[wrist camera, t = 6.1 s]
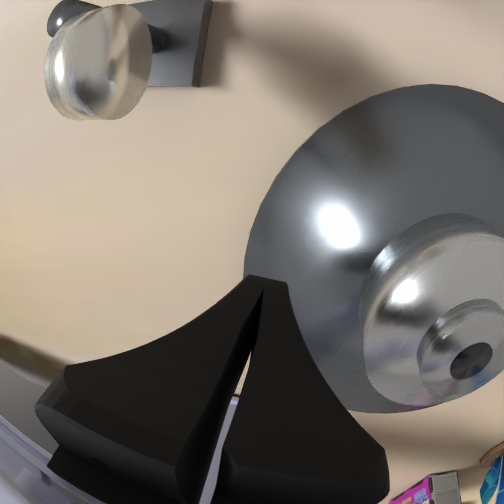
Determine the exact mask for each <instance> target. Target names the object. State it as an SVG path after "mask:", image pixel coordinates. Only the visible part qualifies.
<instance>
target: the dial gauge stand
mask: <svg viewBox="0 0 504 504" xmlns="http://www.w3.org/2000/svg"><path fill="white" fill-rule="evenodd" d="M212 2H213V1H212V0H153V1H146V2H141V3H135V4H130V5H126V4H115V5H111V6H107V7H100V6H97V5H94V4H90V3H87V2H83V1H80V0H63V1H61V2H60V3H59V4H58V5H57V6H56V7H55V8H54V9H53V11H52V12H51V14H50V16H49V19H48V23H47V32H48V34H49V36H51V37H53V39H52V41H51V43H50V46H49V48H48V51H47V55H46V59H45V67H44V79H45V86H46V90H47V93H48V96H49V98H50V101H51V103H52V104H53V106H54V107H55V108H56V110H57V111H58V112H59V113H60V114H62V115H63V116H65V117H66V118H69V119H72V120H115V119H119V118H122V117H124V116H125V115H127V114H128V113H129V112H131V111H132V110H133V109H134V107H135V106H136V105H137V103H138V102H139V100H140V99H141V97H142V95H143V93H144V91H145V88H146V87H159V86H164V87H199V82H200V74H201V67H202V61H203V54H204V47H205V41H206V35H207V29H208V24H209V18H210V13H211V7H212Z"/></svg>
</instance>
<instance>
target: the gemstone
mask: <svg viewBox="0 0 504 504" xmlns="http://www.w3.org/2000/svg"><path fill="white" fill-rule="evenodd" d="M479 463H480V467H482V468H489V467H491V468H490V470H489V471H488V473H487V474H486V476H485V479H484V482H483V485H482V487H481V488H480V496H481V501H482V504H487V503H488V502H489V501H490V499H491V498H492V496H493V494H494V492H495V490H496V488H497V486H498V491H497V497H496V502H495V504H504V441H503V442H502V443H500V444H499V445H497V446H495V447H494V448H492V449H491V450H490V451H488V452H487V453H486V454H485V455H484V456H483V457H482V458H481V460H480V462H479ZM500 466H501V469H500ZM499 475H500V477H499ZM498 480H499V485H498Z"/></svg>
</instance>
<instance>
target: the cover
mask: <svg viewBox="0 0 504 504" xmlns="http://www.w3.org/2000/svg"><path fill="white" fill-rule="evenodd" d="M358 314H359V321H360V328H361V335H362V343H363V351H364V360H365V368H366V373H367V376H368V379H369V381H370V382H371V384H372V386H373V387H374V388H375V389H376V390H377V391H378V392H379V393H380V394H381V395H383V396H384V397H386V398H388V399H390V400H392V401H394V402H397V403H401V404H406V405H415V406H423V405H434V404H439V403H444V402H448V401H451V400H454V399H457V398H460V397H462V396H465V395H467V394H469V393H471V392H473V391H475V390H476V389H478V388H480V387H481V386H483V385H485V384H486V383H487V382H489V381H490V380H492V379H493V378H494V377H495V376H497V375H498V374H499V373H500V372H501V371H502V370H503V369H504V236H503V235H502V234H501V233H500V232H499V231H497V230H496V229H495V228H494V227H493V226H491V225H490V224H489V223H487V222H486V221H484V220H483V219H481V218H478V217H476V216H473V215H469V214H465V213H446V214H440V215H436V216H432V217H429V218H427V219H424V220H422V221H420V222H418V223H416V224H414V225H412V226H410V227H409V228H407V229H406V230H404V231H403V232H402V233H400V234H399V235H398V236H396V237H395V238H394V239H393V240H392V241H391V242H390V243H389V244H388V245H387V246H386V247H385V248H384V249H383V250H382V251H381V252H380V254H379V255H378V256H377V258H376V259H375V261H374V262H373V263H372V265H371V267H370V269H369V270H368V272H367V274H366V277H365V279H364V281H363V284H362V287H361V291H360V295H359V302H358Z"/></svg>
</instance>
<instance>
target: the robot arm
mask: <svg viewBox="0 0 504 504" xmlns="http://www.w3.org/2000/svg"><path fill="white" fill-rule="evenodd" d="M251 350H252V351H251ZM250 353H251V357H250V363H249V368H248V372H247V375H246V378H245V381H244V384H243V388H242V391H241V394H240V397H239V398H238V397H234V396H233V394H234V392H235V390H236V387H237V385H238V382H239V380H240V377H241V375H242V373H243V370H244V368H245V365H246V363H247V360H248V358H249V355H250ZM34 408H35V412H36V415H37V417H38V418H39V420H40V421H41V423H42V424H43V425H44V427H45V428H46V429H47V431H48V432H49V433H50V434H51V435H52V437H53V438H54V439H55V440H56V441H57V443H58V444H59V447H58V448H57V450H56V452H55V453H54V454H53V455H51V454H50V453H48V452H47V451H45V450H44V449H42V448H41V447H39V446H38V445H37V444H35V443H34V442H33V441H31V440H30V439H29V438H27V437H26V436H25V435H24V434H22V433H21V432H20V431H18V430H17V429H16V428H15V427H13V426H12V425H11V424H10V423H9V422H7V421H6V420H5V419H4V418H3V417H2V416H1V415H0V504H76V503H75V502H73V501H71V500H70V499H68V498H66V497H65V496H63V495H62V494H61V493H59V492H58V491H56V490H55V489H53V488H52V486H51V481H50V479H52V480H53V481H55V482H56V483H58V484H59V485H60V486H62V487H64V488H65V489H67V490H68V491H70V492H72V493H73V494H75V495H77V496H78V497H80V498H82V499H83V500H85V501H87V502H89V503H90V504H377V503H379V502H380V501H382V500H383V499H384V498H385V497H386V496H387V495H388V493H389V491H390V482H389V470H388V464H387V459H386V454H385V449H384V448H383V447H382V446H381V445H380V444H379V443H378V442H377V441H376V440H374V439H373V438H372V437H371V436H370V435H369V434H368V433H367V432H366V431H365V430H364V429H363V428H362V427H361V426H360V425H359V424H358V422H357V421H356V420H355V419H354V418H353V417H352V416H351V414H350V413H349V412H348V411H347V410H346V408H345V407H344V406H343V404H342V403H341V402H340V400H339V399H338V397H337V396H336V395H335V393H334V392H333V390H332V389H331V388H330V386H329V385H328V383H327V382H326V380H325V379H324V377H323V375H322V374H321V372H320V370H319V369H318V367H317V365H316V363H315V361H314V360H313V358H312V356H311V354H310V352H309V350H308V348H307V345H306V343H305V341H304V338H303V336H302V334H301V331H300V329H299V326H298V323H297V320H296V317H295V314H294V311H293V308H292V304H291V300H290V295H289V289H288V285H287V283H286V282H283V281H278V280H274V279H269V278H265V277H260V276H255V275H251V274H249V275H247V276H245V278H244V279H243V280H242V281H241V282H240V283H239V284H238V285H237V286H236V287H235V288H233V289H232V290H231V291H230V292H229V293H228V294H227V295H226V296H224V297H223V298H222V299H221V300H219V301H218V302H217V303H216V304H215V305H213V306H212V307H211V308H209V309H208V310H206V311H205V312H203V313H202V314H201V315H199V316H198V317H196V318H195V319H193V320H192V321H190V322H189V323H187V324H185V325H184V326H182V327H180V328H178V329H177V330H175V331H173V332H171V333H169V334H167V335H165V336H163V337H161V338H159V339H157V340H154V341H152V342H150V343H148V344H145V345H143V346H140V347H137V348H135V349H132V350H129V351H126V352H123V353H120V354H116V355H113V356H109V357H106V358H102V359H97V360H93V361H88V362H83V363H78V364H73V365H67V366H66V367H65V368H64V369H63V370H62V371H61V372H60V373H59V374H58V375H57V376H56V378H55V379H54V380H53V381H52V383H51V384H50V385H49V387H48V388H47V389H46V391H45V392H44V393H43V395H42V396H41V397H40V399H39V400H38V402H37V403H36V404H35V406H34ZM48 477H49V478H50V479H49V478H48Z"/></svg>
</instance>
